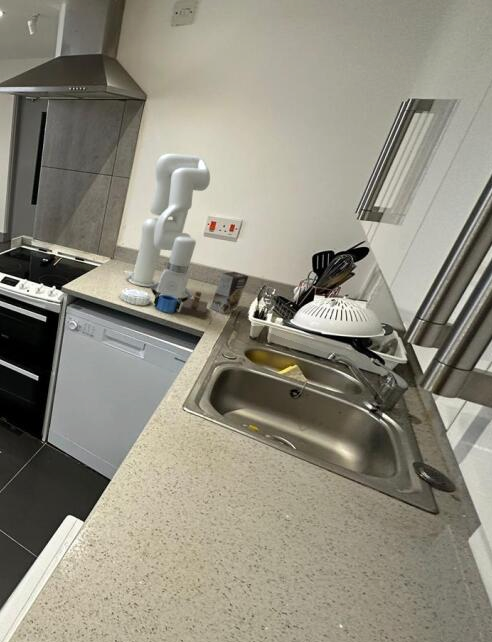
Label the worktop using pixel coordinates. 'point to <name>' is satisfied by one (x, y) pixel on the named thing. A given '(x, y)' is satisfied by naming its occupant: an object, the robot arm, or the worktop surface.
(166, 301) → the blue ribbed cylinder
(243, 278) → the coffee box
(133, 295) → the mooncake
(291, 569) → the worktop surface
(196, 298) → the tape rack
